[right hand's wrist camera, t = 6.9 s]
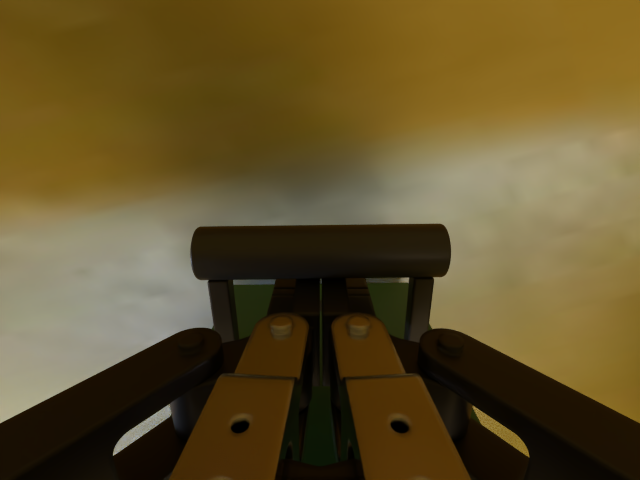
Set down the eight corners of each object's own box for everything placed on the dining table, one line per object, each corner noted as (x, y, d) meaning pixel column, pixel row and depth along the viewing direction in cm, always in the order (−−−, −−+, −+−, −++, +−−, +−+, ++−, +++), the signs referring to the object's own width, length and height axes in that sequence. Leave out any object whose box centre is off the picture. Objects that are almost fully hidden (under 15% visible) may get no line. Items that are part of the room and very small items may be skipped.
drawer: (220, 180, 16) (88, 279, 7) (418, 177, 16) (553, 273, 7) (256, 490, 24) (216, 734, 15) (390, 488, 24) (436, 731, 15)
